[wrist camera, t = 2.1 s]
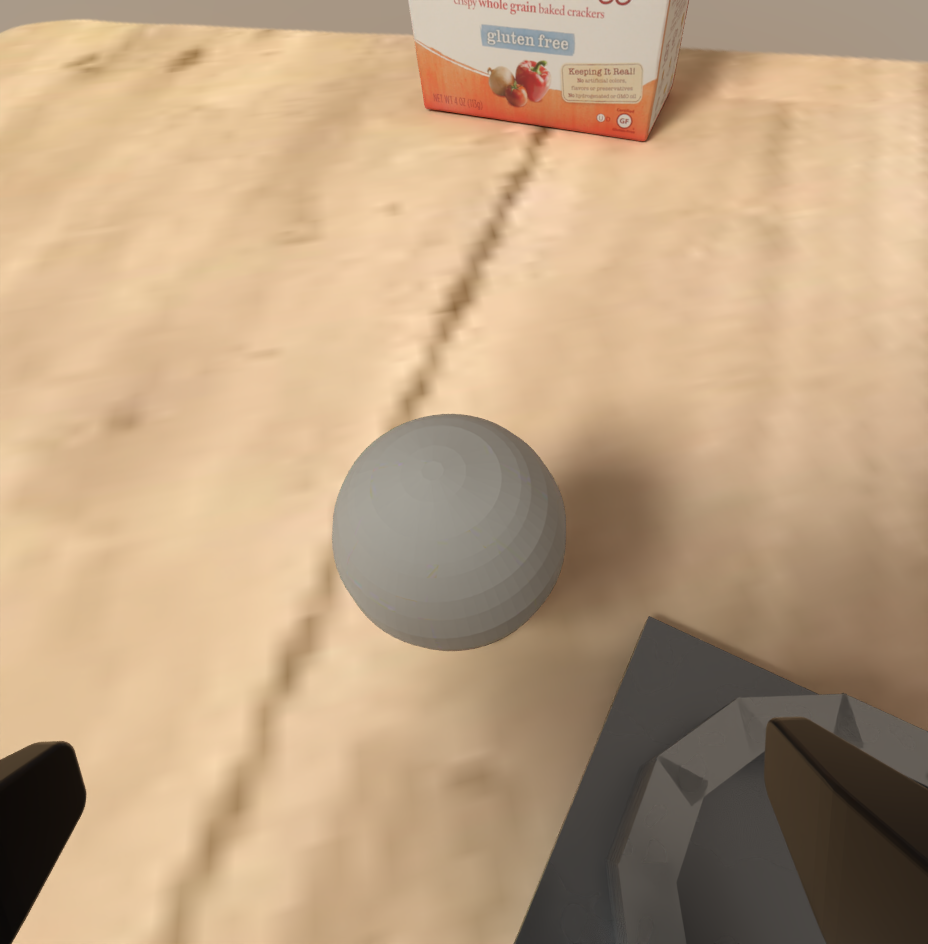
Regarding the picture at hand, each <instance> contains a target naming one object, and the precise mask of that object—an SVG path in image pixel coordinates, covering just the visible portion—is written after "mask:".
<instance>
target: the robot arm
mask: <svg viewBox="0 0 928 944" xmlns="http://www.w3.org/2000/svg"><path fill="white" fill-rule="evenodd" d="M764 780H765V787H766V791H767V794H768V797H769V800H770V803H771V805H772V808H773V810H774V813H775V816H776V818H777V821H778V823H779V826H780V829H781V831H782V834H783V836H784V839H785V842H786V844H787V847H788V849H789V852H790V854H791V857H792V860H793V862H794V865H795V867H796V870H797V873H798V875H799V878H800V880H801V883H802V886H803V888H804V891H805V893H806V896H807V898H808V901H809V904H810V906H811V909H812V911H813V914H814V916H815V919H816V921H817V923H818V926H819V928H820V931H821V933H822V935H823V938H824V940H825V942H826V944H928V789H927V788H925V787H924V786H922V785H920V784H919V783H917V782H915V781H914V780H912V779H910V778H908V777H907V776H905V775H903V774H902V773H900V772H898V771H896V770H895V769H893V768H891V767H890V766H888V765H886V764H885V763H883V762H881V761H879V760H878V759H876V758H874V757H873V756H871V755H869V754H867V753H866V752H864V751H862V750H861V749H859V748H857V747H856V746H854V745H852V744H850V743H849V742H847V741H845V740H844V739H842V738H840V737H838V736H837V735H835V734H833V733H832V732H830V731H828V730H827V729H825V728H823V727H821V726H820V725H818V724H816V723H815V722H813V721H811V720H809V719H807V718H805V717H776V718H772V719H771V720H769V721H768V724H767V727H766V739H765V763H764ZM85 803H86V789H85V785H84V782H83V778H82V775H81V771H80V768H79V764H78V761H77V757H76V754H75V750H74V748H73V747H72V746H71V745H70V744H69V743H67V742H64V741H53V742H38V743H34V744H31V745H29V746H27V747H25V748H23V749H21V750H19V751H17V752H15V753H13V754H11V755H9V756H7V757H5V758H3V759H1V760H0V944H12V942H13V940H14V939H15V937H16V935H17V933H18V932H19V930H20V928H21V926H22V924H23V923H24V921H25V919H26V917H27V916H28V914H29V912H30V910H31V908H32V906H33V904H34V902H35V901H36V899H37V897H38V895H39V893H40V891H41V889H42V888H43V886H44V884H45V882H46V880H47V878H48V876H49V875H50V873H51V871H52V869H53V867H54V865H55V863H56V861H57V860H58V858H59V856H60V854H61V852H62V850H63V848H64V847H65V845H66V843H67V841H68V839H69V837H70V835H71V834H72V832H73V830H74V828H75V826H76V824H77V822H78V820H79V819H80V817H81V815H82V813H83V810H84V807H85Z"/></svg>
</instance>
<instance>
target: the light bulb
mask: <svg viewBox="0 0 928 944" xmlns="http://www.w3.org/2000/svg"><path fill="white" fill-rule="evenodd" d="M332 543H333V553H334V559H335V563H336V567H337V570H338V572H339V575H340V578H341V580H342V581H343V583H344V585H345V587H346V589H347V590H348V592H349V593H350V595H351V596H352V598H353V599H354V601H355V602H356V604H357V605H358V607H359V608H360V609H361V611H362V612H363V613H364V614H365V615H366V616H367V617H368V618H369V619H370V620H371V621H372V622H373V623H374V624H375V625H376V626H378V627H379V628H380V629H382V630H383V631H385V632H386V633H388V634H390V635H391V636H393V637H395V638H397V639H399V640H401V641H404V642H407V643H409V644H412V645H416V646H420V647H424V648H428V649H433V650H441V651H461V650H469V649H474V648H479V647H482V646H486V645H488V644H491V643H493V642H496V641H498V640H500V639H502V638H504V637H506V636H508V635H509V634H511V633H512V632H514V631H515V630H517V629H518V628H519V627H520V626H522V625H523V624H524V623H525V622H526V621H527V620H528V619H529V618H530V617H531V616H532V615H533V614H534V613H535V612H536V611H537V610H538V609H539V608H540V606H541V605H542V604H543V603H544V602H545V600H546V599H547V597H548V596H549V594H550V593H551V591H552V589H553V587H554V585H555V583H556V581H557V579H558V576H559V574H560V571H561V568H562V564H563V560H564V554H565V544H566V515H565V509H564V504H563V500H562V496H561V493H560V491H559V488H558V486H557V484H556V482H555V480H554V478H553V476H552V475H551V473H550V472H549V470H548V469H547V467H546V466H545V464H544V463H543V462H542V460H541V459H540V457H539V456H538V455H537V454H536V453H535V451H534V450H533V449H532V448H531V447H530V446H529V445H528V444H526V443H525V442H524V441H523V440H521V439H520V438H519V437H517V436H516V435H514V434H513V433H511V432H510V431H508V430H507V429H505V428H503V427H501V426H499V425H497V424H495V423H493V422H490V421H488V420H485V419H482V418H478V417H473V416H468V415H459V414H441V415H432V416H427V417H422V418H419V419H415V420H412V421H409V422H406V423H404V424H402V425H399V426H397V427H395V428H393V429H392V430H390V431H388V432H387V433H385V434H383V435H382V436H380V437H379V438H378V439H377V440H375V441H374V442H373V443H372V444H371V445H370V446H368V447H367V448H366V449H365V450H364V452H363V453H362V454H361V455H360V456H359V457H358V459H357V460H356V461H355V462H354V464H353V466H352V467H351V469H350V470H349V472H348V474H347V476H346V478H345V480H344V482H343V484H342V487H341V489H340V492H339V494H338V497H337V501H336V504H335V509H334V515H333V532H332Z"/></svg>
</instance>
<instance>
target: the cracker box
mask: <svg viewBox="0 0 928 944" xmlns="http://www.w3.org/2000/svg"><path fill="white" fill-rule="evenodd" d="M408 2H409V9H410V15H411V20H412V28H413V35H414V40H415V46H416V53H417V60H418V67H419V72H420V78H421V85H422V91H423V98H424V105H425V108H426V109H433V110H440V111H447V112H453V113H460V114H467V115H474V116H480V117H487V118H494V119H500V120H506V121H513V122H520V123H527V124H534V125H540V126H547V127H553V128H559V129H566V130H573V131H580V132H586V133H592V134H599V135H605V136H612V137H618V138H625V139H631V140H637V141H646V139H647V137H648V135H649V133H650V131H651V129H652V127H653V125H654V123H655V121H656V119H657V117H658V115H659V113H660V111H661V109H662V107H663V105H664V102H665V100H666V98H667V96H668V94H669V92H670V90H671V88H672V85H673V80H674V76H675V71H676V65H677V60H678V55H679V50H680V45H681V40H682V34H683V29H684V23H685V18H686V13H687V8H688V3H689V0H408Z"/></svg>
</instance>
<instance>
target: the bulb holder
mask: <svg viewBox="0 0 928 944" xmlns="http://www.w3.org/2000/svg"><path fill="white" fill-rule="evenodd" d="M776 717H805V718H807V719H809V720H811V721H813V722H815V723H816V724H818V725H820V726H821V727H823V728H825V729H827V730H828V731H830V732H832V733H833V734H835V735H837V736H838V737H840V738H842V739H844V740H845V741H847V742H849V743H850V744H852V745H854V746H856V747H857V748H859V749H861V750H862V751H864V752H866V753H867V754H869V755H871V756H873V757H874V758H876V759H878V760H879V761H881V762H883V763H885V764H886V765H888V766H890V767H891V768H893V769H895V770H896V771H898V772H900V773H902V774H903V775H905V776H907V777H908V778H910V779H912V780H914V781H915V782H917V783H919V784H920V785H922V786H924V787H925V788H927V789H928V731H925V730H923V729H921V728H919V727H917V726H914V725H912V724H910V723H908V722H906V721H903V720H901V719H899V718H897V717H895V716H892V715H890V714H888V713H886V712H884V711H881V710H879V709H877V708H875V707H873V706H870V705H868V704H866V703H864V702H862V701H859V700H857V699H855V698H853V697H851V696H848V695H847V694H844V693H842V694H827V695H819V694H817V693H814V692H812V691H810V690H808V689H806V688H804V687H801V686H799V685H797V684H795V683H793V682H791V681H788V680H786V679H784V678H782V677H780V676H778V675H775V674H773V673H771V672H769V671H767V670H765V669H762V668H760V667H758V666H756V665H754V664H752V663H749V662H747V661H745V660H743V659H741V658H739V657H736V656H734V655H732V654H730V653H728V652H726V651H723V650H721V649H719V648H717V647H715V646H713V645H710V644H708V643H706V642H704V641H702V640H700V639H697V638H695V637H693V636H691V635H689V634H687V633H684V632H682V631H680V630H678V629H676V628H674V627H671V626H669V625H667V624H665V623H663V622H661V621H658V620H656V619H654V618H652V617H650V616H649V617H648V619H647V621H646V623H645V625H644V627H643V630H642V632H641V635H640V637H639V640H638V642H637V644H636V647H635V649H634V652H633V654H632V657H631V659H630V662H629V664H628V666H627V669H626V671H625V674H624V676H623V679H622V681H621V683H620V686H619V688H618V691H617V693H616V696H615V698H614V701H613V703H612V705H611V708H610V710H609V713H608V715H607V718H606V720H605V722H604V725H603V727H602V730H601V732H600V735H599V737H598V740H597V742H596V744H595V747H594V749H593V752H592V754H591V757H590V759H589V761H588V764H587V766H586V769H585V771H584V774H583V776H582V779H581V781H580V783H579V786H578V788H577V791H576V793H575V796H574V798H573V801H572V803H571V805H570V808H569V810H568V813H567V815H566V818H565V820H564V822H563V825H562V827H561V830H560V832H559V835H558V837H557V840H556V842H555V844H554V847H553V849H552V852H551V854H550V857H549V859H548V861H547V864H546V866H545V869H544V871H543V874H542V876H541V879H540V881H539V883H538V886H537V888H536V891H535V893H534V896H533V898H532V900H531V903H530V905H529V908H528V910H527V913H526V915H525V918H524V920H523V922H522V925H521V927H520V930H519V932H518V935H517V937H516V939H515V942H514V944H826V942H825V940H824V938H823V935H822V933H821V931H820V928H819V926H818V923H817V921H816V919H815V916H814V914H813V911H812V909H811V906H810V904H809V901H808V898H807V896H806V893H805V891H804V888H803V886H802V883H801V880H800V878H799V875H798V873H797V870H796V867H795V865H794V862H793V860H792V857H791V854H790V852H789V849H788V847H787V844H786V842H785V839H784V836H783V834H782V831H781V829H780V826H779V823H778V821H777V818H776V816H775V813H774V810H773V808H772V805H771V803H770V800H769V797H768V794H767V791H766V787H765V780H764V763H765V739H766V727H767V724H768V721H769V720H771V719H772V718H776Z"/></svg>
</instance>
